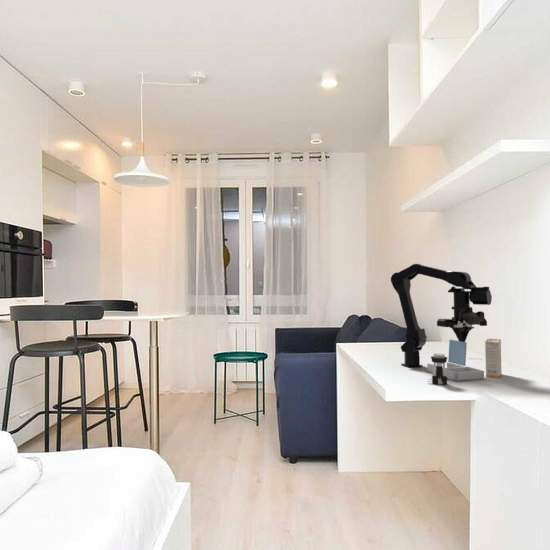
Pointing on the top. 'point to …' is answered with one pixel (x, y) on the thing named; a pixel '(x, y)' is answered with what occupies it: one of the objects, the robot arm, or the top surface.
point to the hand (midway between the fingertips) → (462, 344)
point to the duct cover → (457, 352)
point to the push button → (439, 369)
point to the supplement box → (493, 358)
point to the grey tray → (459, 372)
